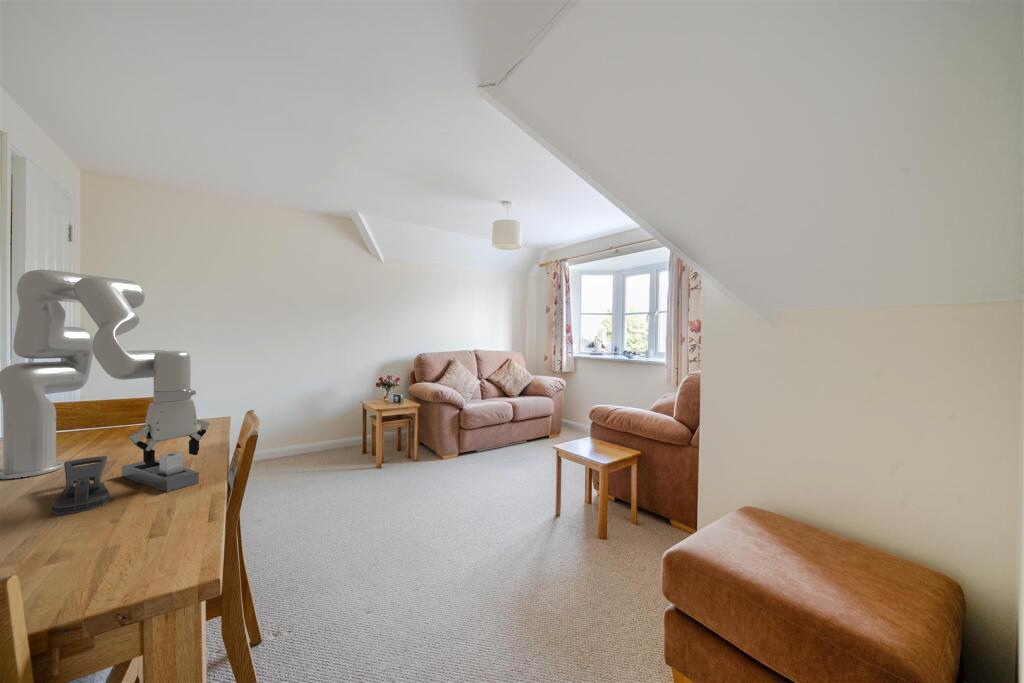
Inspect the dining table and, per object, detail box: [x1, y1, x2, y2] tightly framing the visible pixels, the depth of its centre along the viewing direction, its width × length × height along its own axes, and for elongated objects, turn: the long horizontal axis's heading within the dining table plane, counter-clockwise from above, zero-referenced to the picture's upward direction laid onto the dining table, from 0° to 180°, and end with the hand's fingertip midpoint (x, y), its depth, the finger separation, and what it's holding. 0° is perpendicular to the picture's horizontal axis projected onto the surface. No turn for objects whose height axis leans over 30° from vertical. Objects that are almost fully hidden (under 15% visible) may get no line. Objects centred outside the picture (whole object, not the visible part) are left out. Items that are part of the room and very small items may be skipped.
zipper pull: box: [51, 455, 111, 516], centre depth 96 cm, size 9×7×25 cm
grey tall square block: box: [159, 451, 184, 477], centre depth 104 cm, size 4×4×8 cm
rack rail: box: [121, 459, 200, 493], centre depth 107 cm, size 24×7×3 cm, turn 65°
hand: (172, 459), depth 104 cm, fingers open, 9 cm apart
